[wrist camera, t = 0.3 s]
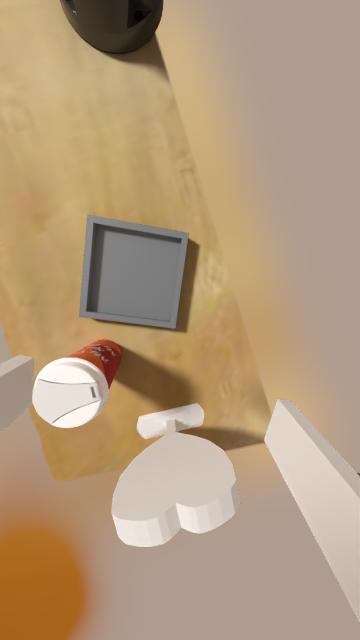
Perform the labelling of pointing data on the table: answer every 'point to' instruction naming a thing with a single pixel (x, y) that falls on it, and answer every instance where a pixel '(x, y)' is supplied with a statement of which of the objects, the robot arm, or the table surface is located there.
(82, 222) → the table surface
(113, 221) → the tray
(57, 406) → the coffee cup
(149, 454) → the heart sculpture
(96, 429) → the table surface
